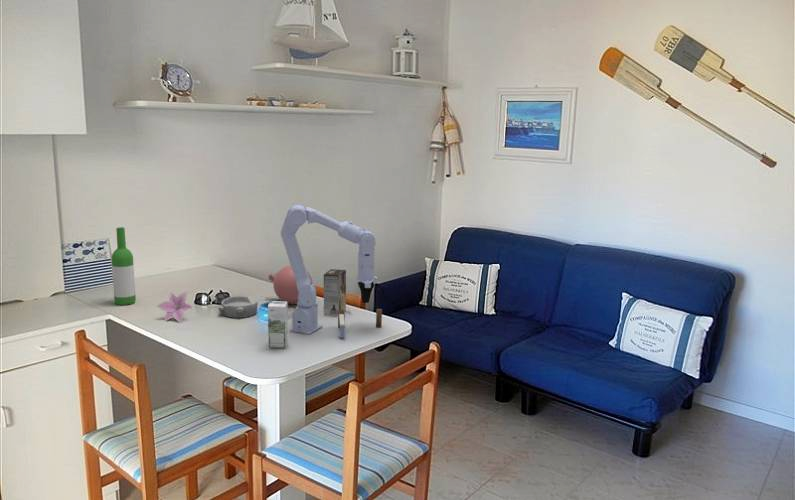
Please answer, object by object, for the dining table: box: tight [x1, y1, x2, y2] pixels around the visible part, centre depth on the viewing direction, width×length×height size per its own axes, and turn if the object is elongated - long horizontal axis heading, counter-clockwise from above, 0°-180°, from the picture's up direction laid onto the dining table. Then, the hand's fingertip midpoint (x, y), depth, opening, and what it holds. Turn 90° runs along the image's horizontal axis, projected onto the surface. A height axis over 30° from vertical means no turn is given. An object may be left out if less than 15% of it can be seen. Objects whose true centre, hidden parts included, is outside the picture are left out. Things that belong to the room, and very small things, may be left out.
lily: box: [156, 290, 194, 324], centre depth 235 cm, size 12×12×10 cm
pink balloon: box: [268, 264, 313, 305], centre depth 257 cm, size 15×20×15 cm
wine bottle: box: [111, 226, 137, 306], centre depth 249 cm, size 8×8×30 cm
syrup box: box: [267, 300, 289, 349], centre depth 209 cm, size 6×6×14 cm
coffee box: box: [323, 268, 347, 317], centre depth 245 cm, size 9×6×16 cm
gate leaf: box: [339, 314, 346, 339], centre depth 222 cm, size 11×2×5 cm, turn 6°
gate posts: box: [337, 308, 383, 330], centre depth 230 cm, size 16×2×6 cm, turn 98°
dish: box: [218, 295, 258, 319], centre depth 243 cm, size 14×14×5 cm
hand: (365, 302), depth 229 cm, fingers closed
